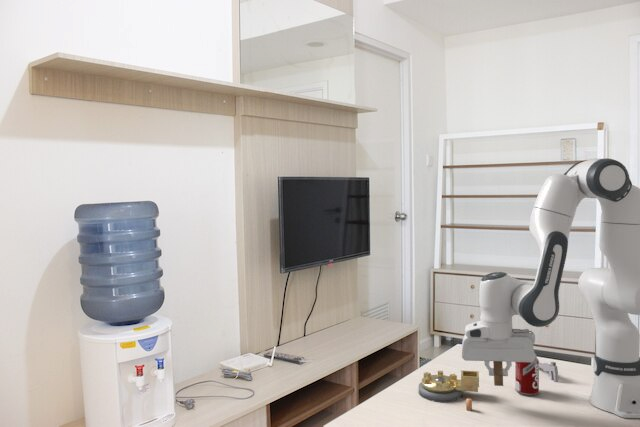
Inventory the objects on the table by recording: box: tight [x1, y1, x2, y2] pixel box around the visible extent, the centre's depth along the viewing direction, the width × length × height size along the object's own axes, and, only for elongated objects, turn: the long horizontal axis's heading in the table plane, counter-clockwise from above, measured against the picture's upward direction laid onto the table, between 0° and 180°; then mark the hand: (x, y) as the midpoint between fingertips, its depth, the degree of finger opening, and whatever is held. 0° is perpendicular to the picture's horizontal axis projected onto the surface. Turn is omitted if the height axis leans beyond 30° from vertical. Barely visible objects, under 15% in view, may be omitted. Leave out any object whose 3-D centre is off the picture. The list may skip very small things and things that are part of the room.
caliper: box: [539, 361, 559, 382], centre depth 186 cm, size 20×1×6 cm, turn 9°
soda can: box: [514, 353, 540, 397], centre depth 168 cm, size 7×7×12 cm
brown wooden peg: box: [492, 361, 504, 387], centre depth 159 cm, size 2×2×7 cm
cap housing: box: [418, 381, 473, 412], centre depth 167 cm, size 16×18×3 cm
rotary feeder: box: [421, 369, 480, 393], centre depth 168 cm, size 17×11×4 cm, turn 75°
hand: (498, 375), depth 159 cm, fingers closed on brown wooden peg, 2 cm apart
